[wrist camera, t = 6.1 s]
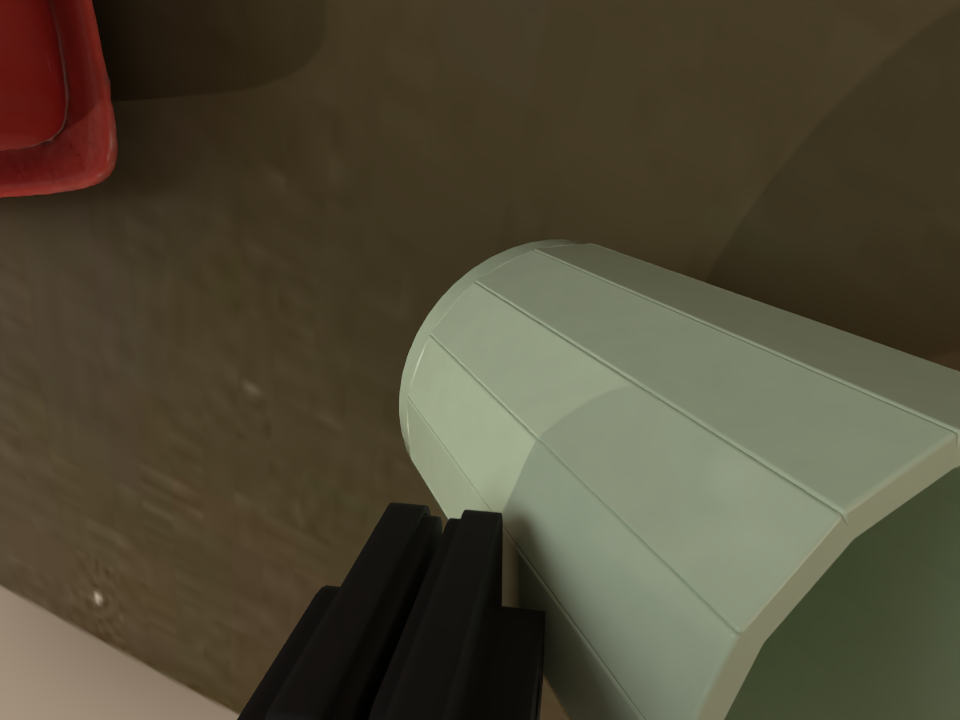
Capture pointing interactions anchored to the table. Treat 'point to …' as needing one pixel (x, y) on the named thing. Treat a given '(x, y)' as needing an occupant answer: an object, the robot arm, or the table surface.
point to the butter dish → (53, 99)
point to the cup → (697, 490)
